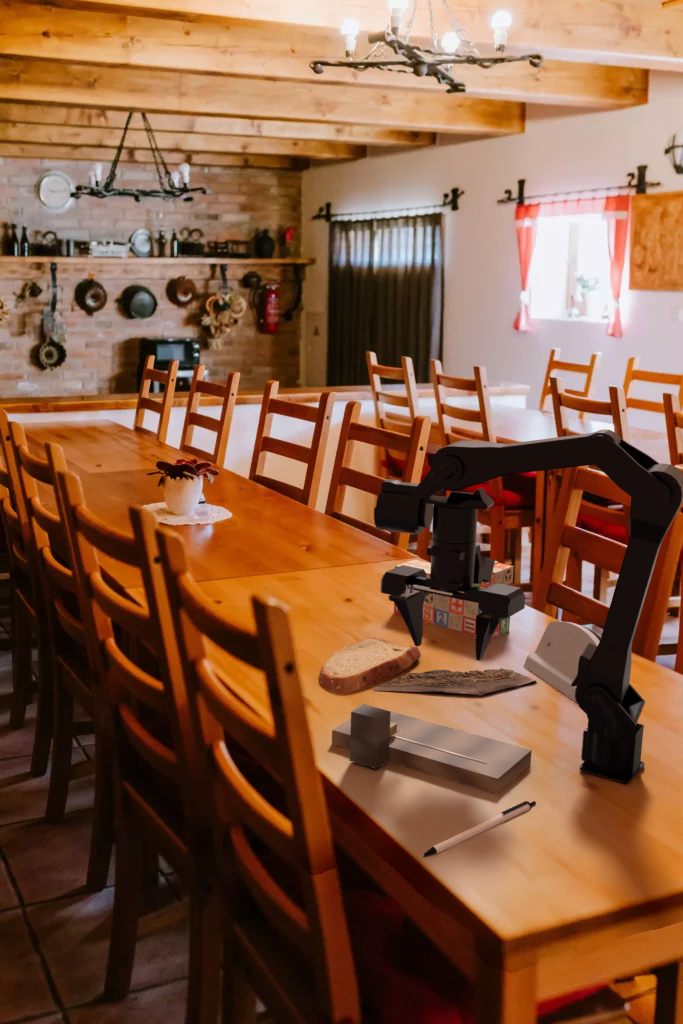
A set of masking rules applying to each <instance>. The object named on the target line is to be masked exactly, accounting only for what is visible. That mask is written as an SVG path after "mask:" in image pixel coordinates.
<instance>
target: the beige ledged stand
mask: <svg viewBox="0 0 683 1024" xmlns="http://www.w3.org/2000/svg"><path fill="white" fill-rule="evenodd" d="M601 636H602V634H601V635H600V634H599V633H598V632H596V631H594V630H593V629H591V628H589V627H587V626H584V625H581V624H578V623H575V622H569V621H560V620H559V621H557V620H556V621H555V620H554V621H550V622H549V623H548V624H547V626H546V628H545V630H544V632H543V634H542V636H541V639H540V641H539V642H538V645H537V647H536V649H535V651H534V652H533V653H531V654H528V655H527V656H526V658H525V661H524V664H523V667H524V668H525V669H526V670H528V671H530V672H531V673H532V674H534V675H536V676H537V677H539V679H541V680H542V681H545V682H546V683H547V684H549V685H550V686H551V687H553V688H555V689H556V690H558V691H559V692H560V693H562V694H564V695H565V696H566V697H568V698H569V699H571V700H573V701H574V703H577V702H576V700H575V690H576V687H577V686H573V687H572V686H571V684H572V682H573V680H574V679H575V677H576V675H577V673H578V664H579V657H580V655H581V654H582V652H583V651H584V649H585V647H586V646H587V644H588V643H591V644H593V645H595V646H598V644H599V642H600V639H601Z"/></svg>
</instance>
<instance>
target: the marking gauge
mask: <svg viewBox="0 0 683 1024" xmlns="http://www.w3.org/2000/svg"><path fill="white" fill-rule="evenodd" d="M387 710H388V709H384V708H381V709H380V707H377V708H376V706H372V705H370V704H362V705H359V706H358V707H356V708H355V709H353V710H352V711H351V712H350V719H351V734H350V749H349V762H353V763H356V764H360V765H362V766H366V767H367V768H368V767H369V768H371V769H375V770H377V769H379V768H381V766H383V765H384V764H386V763H387V762H390V761H389V741H390V736H392V735H393V734H395V733H396V732H397V723H394V722H390V714H391V712H392V711H391V710H388V711H387Z"/></svg>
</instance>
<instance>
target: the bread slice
mask: <svg viewBox="0 0 683 1024" xmlns="http://www.w3.org/2000/svg"><path fill="white" fill-rule="evenodd" d="M421 656H422V653H421V650H420V649H419V646H415V644H413V645H412V644H410V645H409V646H402V645H399V644H396V643H393V642H391V641H389V640H386V639H382V638H379V637H368V638H365V639H362V640H359V641H355V642H351V643H348V645H345V646H342V647H341V648H339V649H337V650H335V651H333V653H331V654H330V657H329V659H327V660H326V661H324V663H323V664H322V665H321V668H320V671H319V682H320V684H321V685H322V686H323V687H324V688H325V689H328V690H330V691H332V692H335V693H342V694H348V693H355V692H357V691H360V690H364V689H366V688H370V687H372V686H374V685H375V686H376V685H377V684H379V683H381V682H383V681H386V680H388V679H391V678H392V677H394V676H396V675H398V674H399V675H400V673H402V672H404V671H406V670H407V669H408V668H410V667H411V666H412V665H413V664H414V663H415V662H416V661H417V660H419V659H420V658H421Z"/></svg>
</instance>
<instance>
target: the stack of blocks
mask: <svg viewBox="0 0 683 1024" xmlns="http://www.w3.org/2000/svg"><path fill="white" fill-rule="evenodd" d="M402 565H404V566H409V567H415V568H420V569H424V571H425V572H426V574H427V577H429V576H430V572H431V562H425V561H422V560H418V559H412V560H410V561H409V560H408V561H406V562H403V563H400V564H397V565H395V566H394V568H397V567H399V566H402ZM514 568H515V566H514V565H511V564H506V563H502V562H499V561H498V560H495V563H494V568H493V573H492V578H491V583H487V582H483V581H482V583H480V584H474V587H476V588H482V589H487V588H489V587H491V586H493V585H495V584H496V583H499V584H504V585H509V586H513V585H514V583H513V579H514ZM459 592H460V591H459ZM462 593H464V592H462ZM393 613H394V614H397V615H400V616H401V614H400V612H399V610H398V608H397V607H396V605H395V603H394V602H393ZM480 613H481V610H480V609H479V608H478V603H476V602H471V601H466V600H461V599H456V598H451V597H447V596H442V595H437V594H432V593H427V594H426V597H425V600H424V603H423V622H425V623H428V624H432V625H433V624H434V625H436V626H441V627H444V628H448V629H452V630H456V631H459V632H462V633H466V634H469V635H474V636H476V615H478V614H480ZM510 621H511V616H510V617H508V618H505V619H503V620H501V621H500V623H499V624H498V626H497V628H496V630H495V631H494V634H493V636H492V638H491V640H493V639H495V638H498V637H499V635H500V636H502V635H504V634H506V633H508V631H509V632H510V624H511V623H510ZM505 632H506V633H505ZM503 633H504V634H503ZM501 634H502V635H501ZM497 636H498V637H497Z"/></svg>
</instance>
